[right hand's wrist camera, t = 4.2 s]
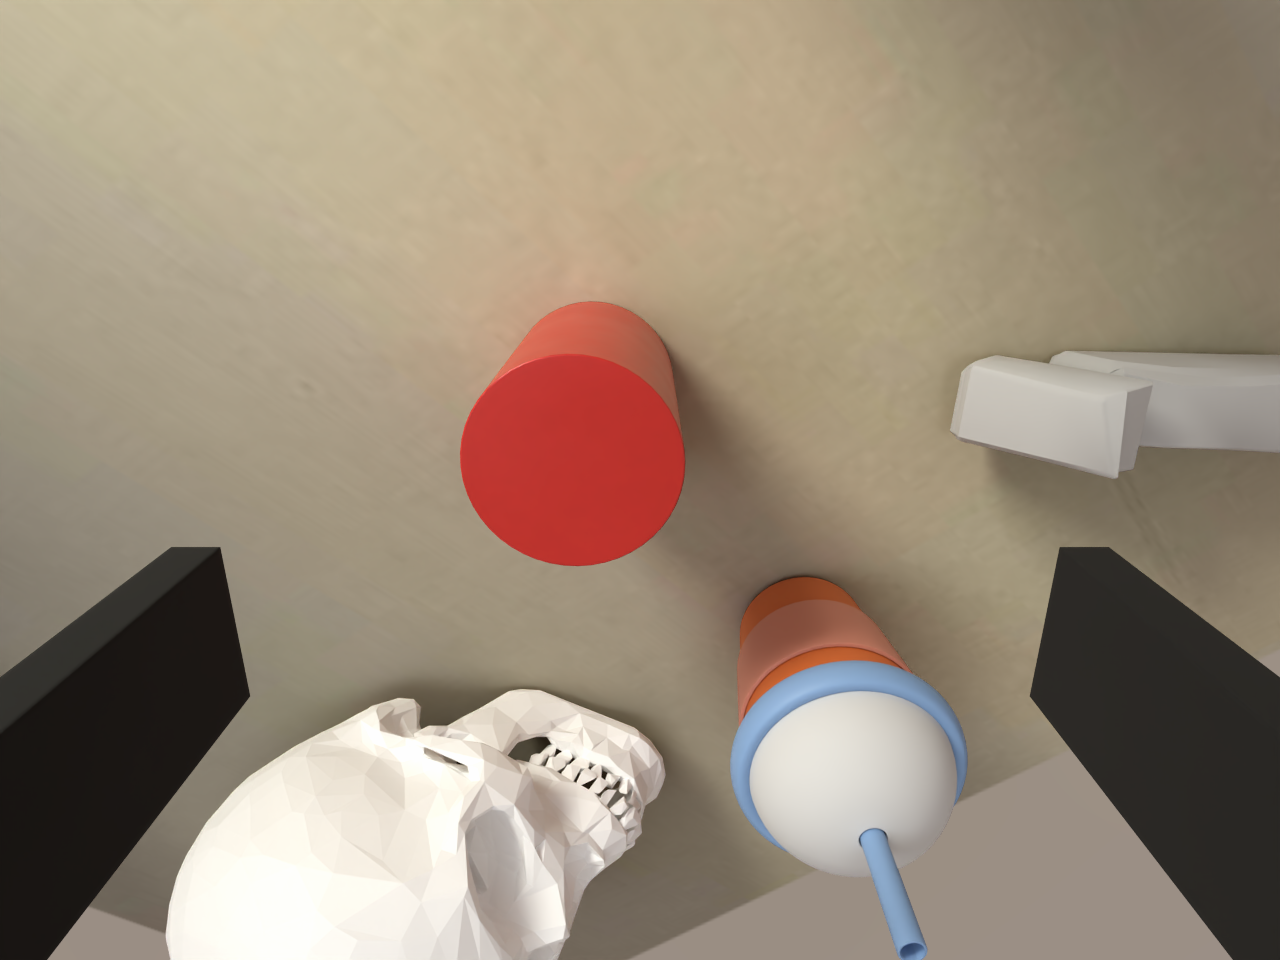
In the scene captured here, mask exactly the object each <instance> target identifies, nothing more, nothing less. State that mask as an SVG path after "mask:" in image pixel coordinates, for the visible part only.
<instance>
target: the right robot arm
mask: <svg viewBox="0 0 1280 960" xmlns="http://www.w3.org/2000/svg"><path fill="white" fill-rule="evenodd" d="M249 697H250V693H249V688H248V683H247V678H246V673H245V668H244V663H243V658H242V653H241V648H240V643H239V638H238V633H237V628H236V623H235V618H234V613H233V608H232V603H231V598H230V593H229V588H228V584H227V579H226V574H225V569H224V564H223V559H222V554H221V549H220V547H171V548H170V549H168V550H167V551H166V552H164V553H163V554H162V555H160V556H159V557H158V558H156V559H155V560H154V561H152V562H151V563H150V564H149V565H147V566H146V567H145V568H143V569H142V570H141V571H139V572H138V573H137V574H135V575H134V576H133V577H131V578H130V579H129V580H128V581H126V582H125V583H124V584H122V585H121V586H120V587H118V588H117V589H116V590H114V591H113V592H112V593H110V594H109V595H108V596H106V597H105V598H104V599H103V600H101V601H100V602H99V603H97V604H96V605H95V606H93V607H92V608H91V609H89V610H88V611H87V612H85V613H84V614H83V615H82V616H80V617H79V618H78V619H76V620H75V621H74V622H72V623H71V624H70V625H68V626H67V627H66V628H64V629H63V630H62V631H61V632H59V633H58V634H57V635H55V636H54V637H53V638H51V639H50V640H49V641H47V642H46V643H45V644H43V645H42V646H41V647H39V648H38V649H37V650H36V651H34V652H33V653H32V654H30V655H29V656H28V657H26V658H25V659H24V660H22V661H21V662H20V663H18V664H17V665H16V666H15V667H13V668H12V669H11V670H9V671H8V672H7V673H5V674H4V675H3V676H1V677H0V960H47V959H48V958H49V957H50V955H51V954H52V953H53V951H54V950H55V949H56V947H57V946H58V945H59V943H60V942H61V941H62V940H63V938H64V937H65V936H66V934H67V933H68V932H69V930H70V929H71V928H72V927H73V925H74V924H75V923H76V921H77V920H78V919H79V918H80V916H81V915H82V914H83V912H84V911H85V910H86V909H87V907H88V906H89V905H90V903H91V902H92V901H93V899H94V898H95V897H96V896H97V894H98V893H99V892H100V890H101V889H102V888H103V886H104V885H105V884H106V883H107V881H108V880H109V879H110V877H111V876H112V875H113V874H114V872H115V871H116V870H117V868H118V867H119V866H120V864H121V863H122V862H123V861H124V859H125V858H126V857H127V855H128V854H129V853H130V851H131V850H132V849H133V848H134V846H135V845H136V844H137V842H138V841H139V840H140V838H141V837H142V836H143V835H144V833H145V832H146V831H147V829H148V828H149V827H150V826H151V824H152V823H153V822H154V820H155V819H156V818H157V816H158V815H159V814H160V813H161V811H162V810H163V809H164V807H165V806H166V805H167V803H168V802H169V801H170V800H171V798H172V797H173V796H174V794H175V793H176V792H177V790H178V789H179V788H180V787H181V785H182V784H183V783H184V781H185V780H186V779H187V777H188V776H189V775H190V774H191V772H192V771H193V770H194V768H195V767H196V766H197V765H198V763H199V762H200V761H201V759H202V758H203V757H204V755H205V754H206V753H207V752H208V750H209V749H210V748H211V746H212V745H213V744H214V742H215V741H216V740H217V739H218V737H219V736H220V735H221V733H222V732H223V731H224V729H225V728H226V727H227V726H228V724H229V723H230V722H231V720H232V719H233V718H234V717H235V715H236V714H237V713H238V711H239V710H240V709H241V707H242V706H243V705H244V704H245V702H246V701H247V700H248V698H249ZM1030 697H1031V698H1032V700H1033V701H1034V702H1035V704H1036V705H1037V706H1038V707H1039V709H1040V710H1041V711H1042V713H1043V714H1044V715H1045V717H1046V718H1047V719H1048V720H1049V722H1050V723H1051V724H1052V726H1053V727H1054V728H1055V729H1056V731H1057V732H1058V733H1059V735H1060V736H1061V737H1062V739H1063V740H1064V741H1065V742H1066V744H1067V745H1068V746H1069V748H1070V749H1071V750H1072V752H1073V753H1074V754H1075V755H1076V757H1077V758H1078V759H1079V761H1080V762H1081V763H1082V765H1083V766H1084V767H1085V768H1086V770H1087V771H1088V772H1089V774H1090V775H1091V776H1092V777H1093V779H1094V780H1095V781H1096V783H1097V784H1098V785H1099V787H1100V788H1101V789H1102V790H1103V792H1104V793H1105V794H1106V796H1107V797H1108V798H1109V800H1110V801H1111V802H1112V803H1113V805H1114V806H1115V807H1116V809H1117V810H1118V811H1119V813H1120V814H1121V815H1122V816H1123V818H1124V819H1125V820H1126V822H1127V823H1128V824H1129V826H1130V827H1131V828H1132V829H1133V831H1134V832H1135V833H1136V835H1137V836H1138V837H1139V838H1140V840H1141V841H1142V842H1143V844H1144V845H1145V846H1146V847H1147V849H1148V850H1149V851H1150V853H1151V854H1152V855H1153V857H1154V858H1155V859H1156V861H1157V862H1158V863H1159V864H1160V866H1161V867H1162V868H1163V870H1164V871H1165V872H1166V873H1167V875H1168V876H1169V877H1170V879H1171V880H1172V881H1173V883H1174V884H1175V885H1176V886H1177V888H1178V889H1179V890H1180V892H1181V893H1182V894H1183V896H1184V897H1185V898H1186V899H1187V901H1188V902H1189V903H1190V905H1191V906H1192V907H1193V908H1194V910H1195V911H1196V912H1197V914H1198V915H1199V916H1200V918H1201V919H1202V920H1203V922H1204V923H1205V924H1206V925H1207V927H1208V928H1209V929H1210V931H1211V932H1212V933H1213V935H1214V936H1215V937H1216V938H1217V940H1218V941H1219V942H1220V944H1221V945H1222V946H1223V947H1224V949H1225V950H1226V951H1227V953H1228V954H1229V955H1230V957H1231V958H1232V959H1233V960H1280V677H1279V676H1277V675H1276V674H1275V673H1273V672H1272V671H1271V670H1269V669H1268V668H1267V667H1265V666H1264V665H1263V664H1262V663H1260V662H1259V661H1258V660H1256V659H1255V658H1254V657H1252V656H1251V655H1250V654H1248V653H1247V652H1246V651H1244V650H1243V649H1242V648H1241V647H1239V646H1238V645H1237V644H1235V643H1234V642H1233V641H1231V640H1230V639H1229V638H1227V637H1226V636H1225V635H1223V634H1222V633H1221V632H1219V631H1218V630H1217V629H1216V628H1214V627H1213V626H1212V625H1210V624H1209V623H1208V622H1206V621H1205V620H1204V619H1202V618H1201V617H1200V616H1198V615H1197V614H1196V613H1195V612H1193V611H1192V610H1191V609H1189V608H1188V607H1187V606H1185V605H1184V604H1183V603H1181V602H1180V601H1179V600H1177V599H1176V598H1175V597H1174V596H1172V595H1171V594H1170V593H1168V592H1167V591H1166V590H1164V589H1163V588H1162V587H1160V586H1159V585H1158V584H1156V583H1155V582H1154V581H1152V580H1151V579H1150V578H1149V577H1147V576H1146V575H1145V574H1143V573H1142V572H1141V571H1139V570H1138V569H1137V568H1135V567H1134V566H1133V565H1131V564H1130V563H1129V562H1128V561H1126V560H1125V559H1124V558H1122V557H1121V556H1120V555H1118V554H1117V553H1116V552H1114V551H1113V550H1112V549H1110V548H1109V547H1060V549H1059V554H1058V559H1057V564H1056V569H1055V574H1054V579H1053V584H1052V588H1051V593H1050V598H1049V603H1048V608H1047V613H1046V618H1045V623H1044V628H1043V633H1042V638H1041V643H1040V648H1039V653H1038V658H1037V663H1036V668H1035V673H1034V678H1033V683H1032V688H1031V693H1030Z"/></svg>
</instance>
